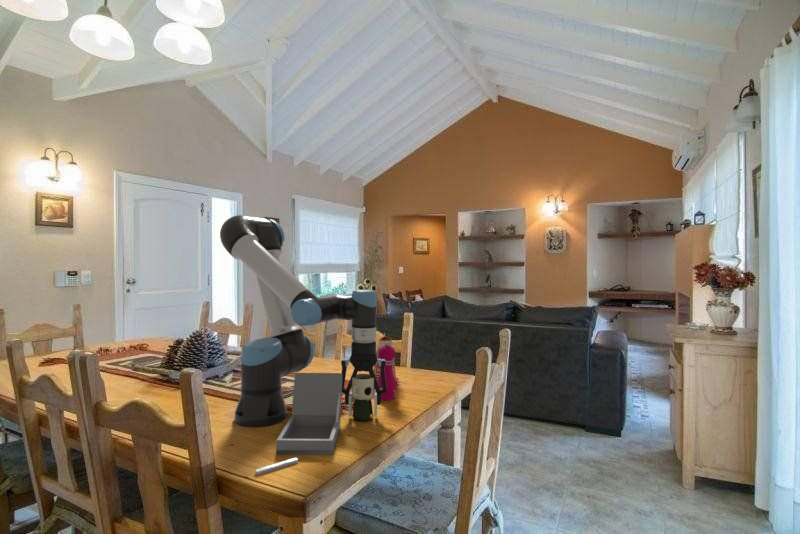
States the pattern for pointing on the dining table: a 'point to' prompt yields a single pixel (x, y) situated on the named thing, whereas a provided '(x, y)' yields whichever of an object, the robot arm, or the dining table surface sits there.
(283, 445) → the case
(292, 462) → the rod
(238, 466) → the dining table surface
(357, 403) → the character mug
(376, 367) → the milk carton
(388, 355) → the pepper mill
